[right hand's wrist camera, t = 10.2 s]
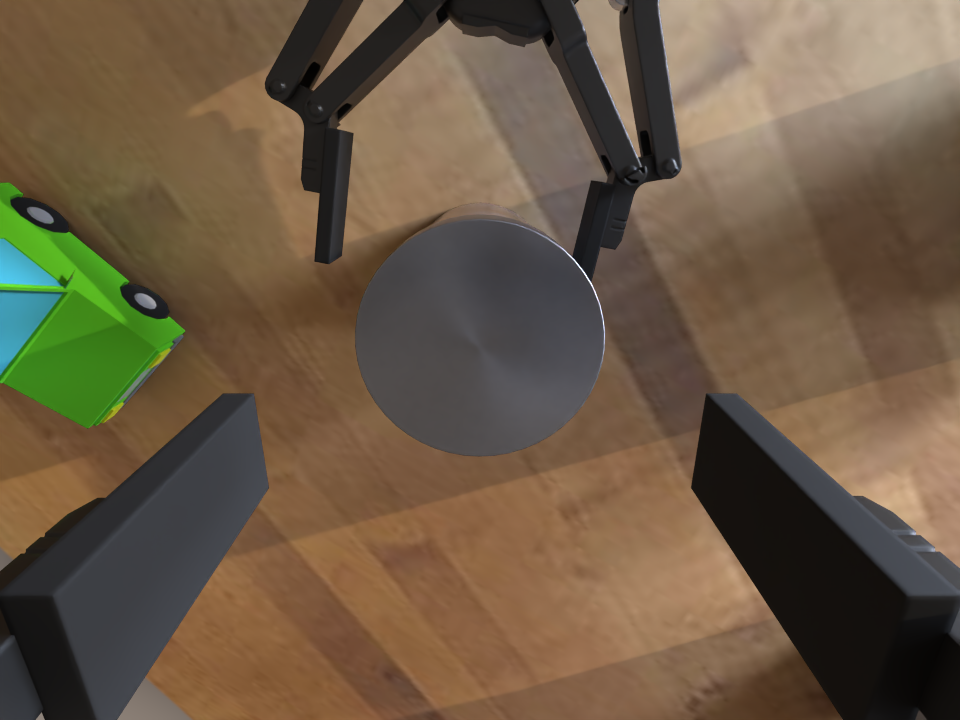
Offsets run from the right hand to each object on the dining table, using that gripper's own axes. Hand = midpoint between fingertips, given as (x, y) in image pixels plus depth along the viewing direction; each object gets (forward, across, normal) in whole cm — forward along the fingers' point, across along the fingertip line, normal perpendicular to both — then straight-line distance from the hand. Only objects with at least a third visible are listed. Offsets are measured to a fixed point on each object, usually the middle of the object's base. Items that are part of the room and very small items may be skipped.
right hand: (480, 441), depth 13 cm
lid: (+8, 0, 0) cm, 8 cm away
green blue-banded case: (+23, -27, -2) cm, 35 cm away
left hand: (+17, -2, +1) cm, 17 cm away
